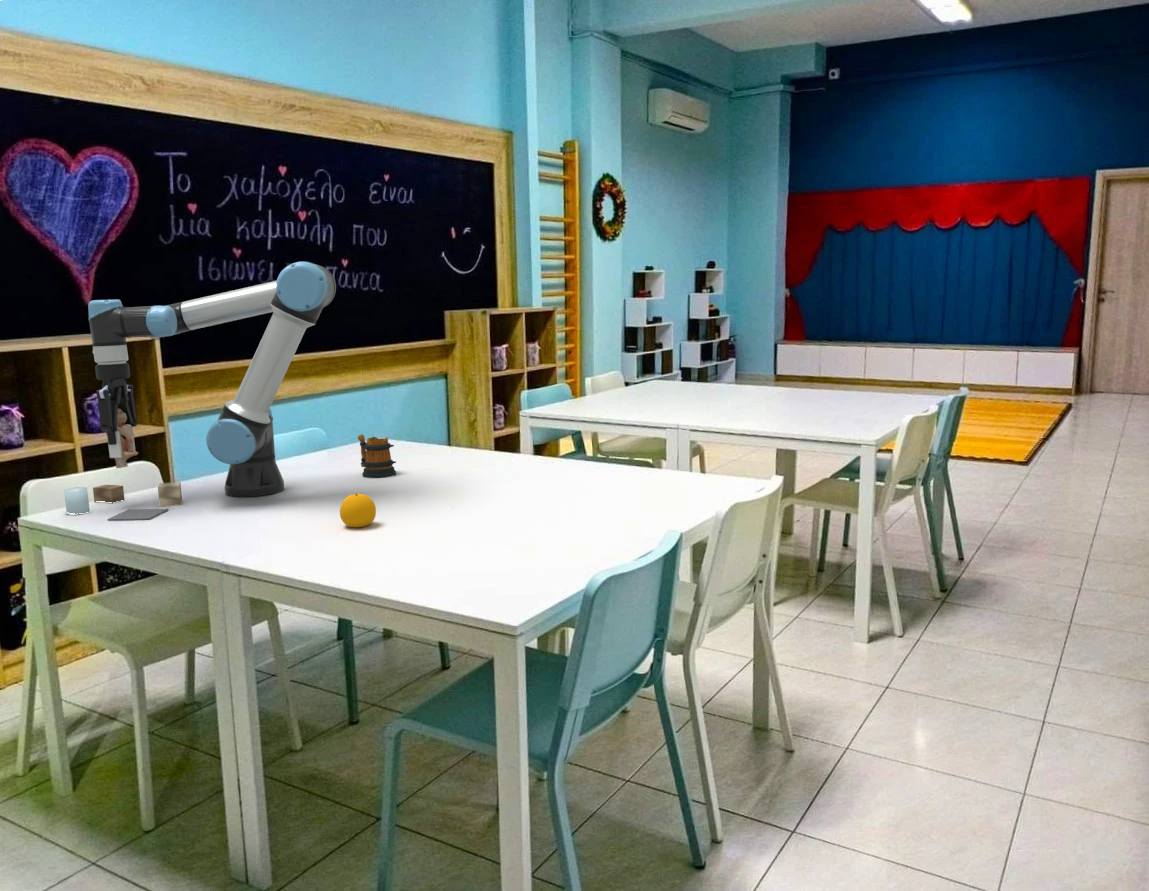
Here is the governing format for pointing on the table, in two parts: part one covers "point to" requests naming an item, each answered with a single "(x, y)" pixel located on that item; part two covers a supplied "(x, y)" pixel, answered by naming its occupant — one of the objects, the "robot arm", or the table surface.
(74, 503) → the pale blue rounded block
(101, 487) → the walnut block
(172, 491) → the beech block
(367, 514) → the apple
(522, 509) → the table surface
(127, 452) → the figurine
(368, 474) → the mug
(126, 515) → the grey mat
